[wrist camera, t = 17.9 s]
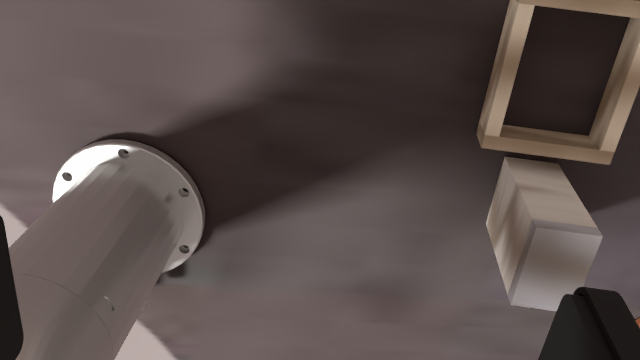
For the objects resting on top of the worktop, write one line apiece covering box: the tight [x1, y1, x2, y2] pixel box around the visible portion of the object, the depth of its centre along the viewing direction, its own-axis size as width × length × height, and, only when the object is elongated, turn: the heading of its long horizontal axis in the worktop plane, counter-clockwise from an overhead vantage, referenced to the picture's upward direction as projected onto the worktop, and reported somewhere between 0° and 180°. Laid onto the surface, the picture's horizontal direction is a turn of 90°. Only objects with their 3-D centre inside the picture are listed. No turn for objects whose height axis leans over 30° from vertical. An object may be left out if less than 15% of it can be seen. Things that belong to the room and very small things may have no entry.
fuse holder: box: [476, 0, 640, 311], centre depth 36 cm, size 26×9×10 cm, turn 174°
